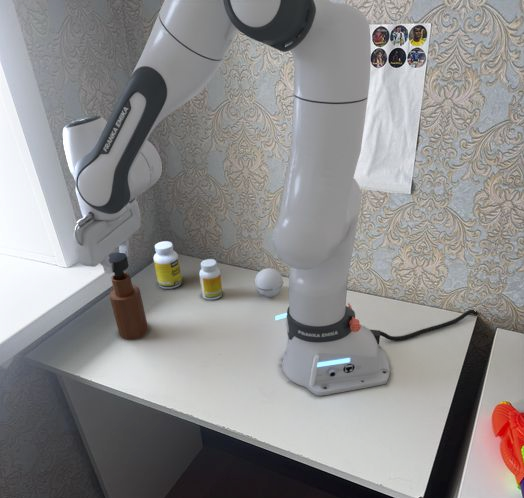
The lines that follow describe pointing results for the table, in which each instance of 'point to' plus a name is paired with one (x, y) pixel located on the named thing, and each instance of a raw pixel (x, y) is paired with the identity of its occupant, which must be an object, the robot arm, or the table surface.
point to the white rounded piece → (269, 282)
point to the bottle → (128, 308)
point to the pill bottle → (167, 265)
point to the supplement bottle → (210, 280)
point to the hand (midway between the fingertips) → (117, 265)
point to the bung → (119, 263)
